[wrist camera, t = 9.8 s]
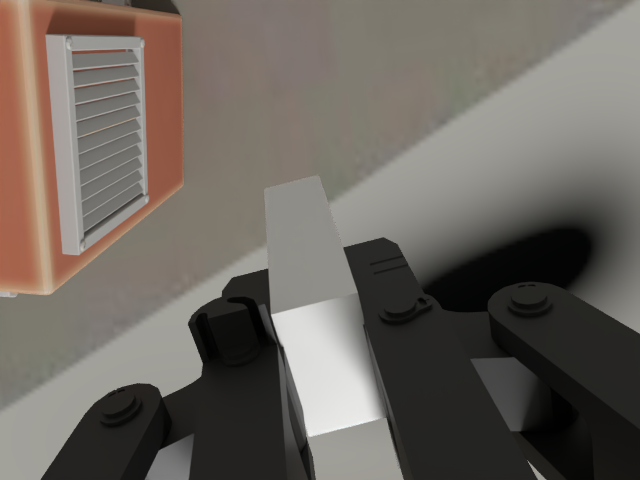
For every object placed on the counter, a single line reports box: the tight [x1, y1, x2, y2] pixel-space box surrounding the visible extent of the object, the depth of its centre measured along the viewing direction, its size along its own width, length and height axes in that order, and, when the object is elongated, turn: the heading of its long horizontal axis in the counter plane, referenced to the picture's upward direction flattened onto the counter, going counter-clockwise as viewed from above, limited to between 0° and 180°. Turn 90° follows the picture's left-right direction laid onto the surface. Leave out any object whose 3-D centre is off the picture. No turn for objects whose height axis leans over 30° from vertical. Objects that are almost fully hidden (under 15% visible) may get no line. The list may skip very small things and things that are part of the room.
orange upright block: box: [0, 0, 184, 297], centre depth 35 cm, size 21×7×15 cm
